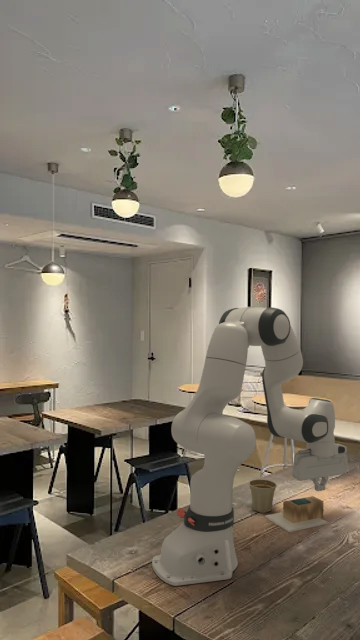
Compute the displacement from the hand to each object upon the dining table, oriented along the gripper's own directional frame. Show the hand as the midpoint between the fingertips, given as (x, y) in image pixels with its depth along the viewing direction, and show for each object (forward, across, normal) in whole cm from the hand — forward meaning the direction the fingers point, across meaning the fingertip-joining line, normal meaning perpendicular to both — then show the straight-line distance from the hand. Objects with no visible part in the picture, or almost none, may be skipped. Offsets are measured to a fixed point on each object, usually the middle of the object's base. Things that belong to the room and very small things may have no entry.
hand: (319, 490), depth 158 cm
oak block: (+5, 0, 0) cm, 5 cm away
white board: (+8, -9, 0) cm, 13 cm away
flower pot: (+9, -14, +12) cm, 20 cm away
